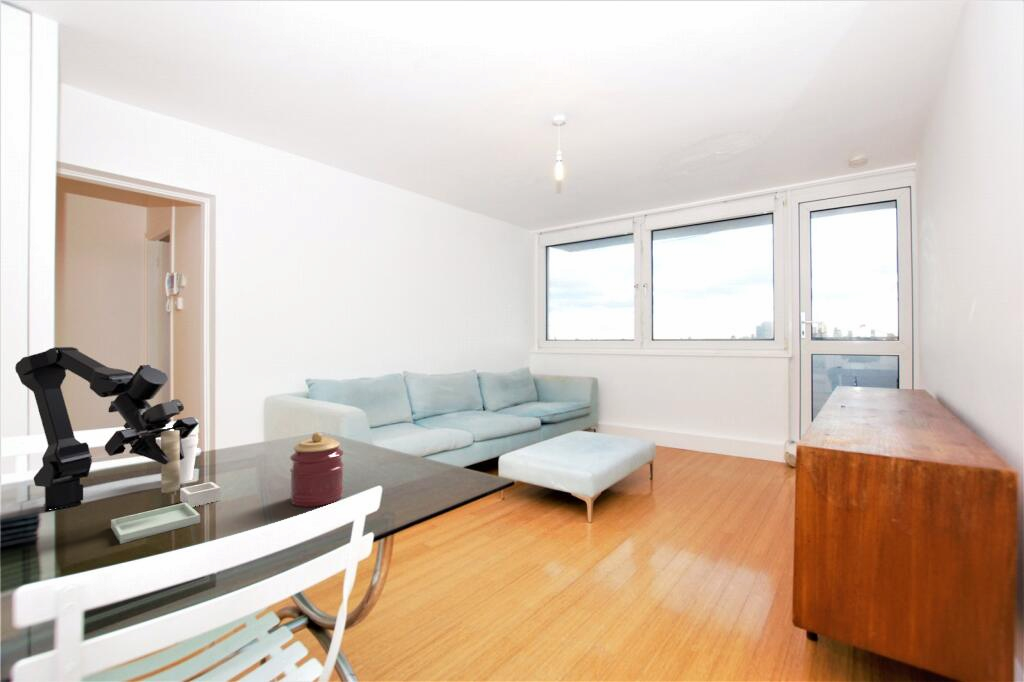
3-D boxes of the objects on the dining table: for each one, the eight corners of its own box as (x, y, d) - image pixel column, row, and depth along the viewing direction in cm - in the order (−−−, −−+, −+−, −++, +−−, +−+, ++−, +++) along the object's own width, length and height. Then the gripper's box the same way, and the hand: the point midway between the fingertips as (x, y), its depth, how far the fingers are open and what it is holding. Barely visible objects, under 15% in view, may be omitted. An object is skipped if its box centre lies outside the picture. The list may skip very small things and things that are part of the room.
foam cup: (206, 475, 138) (205, 434, 138) (181, 485, 129) (180, 440, 129) (178, 474, 139) (177, 433, 139) (151, 484, 130) (150, 440, 130)
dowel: (160, 493, 104) (159, 433, 104) (162, 489, 107) (162, 431, 107) (179, 490, 106) (178, 432, 106) (180, 486, 109) (180, 429, 109)
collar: (187, 508, 112) (187, 494, 112) (180, 501, 116) (180, 488, 116) (220, 500, 117) (220, 487, 117) (212, 494, 122) (211, 481, 122)
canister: (352, 497, 119) (352, 431, 119) (303, 512, 109) (302, 440, 109) (329, 487, 127) (329, 425, 127) (282, 499, 118) (281, 432, 118)
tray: (120, 543, 93) (120, 535, 93) (111, 527, 100) (111, 519, 100) (200, 522, 103) (200, 514, 103) (186, 509, 111) (186, 502, 111)
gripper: (114, 395, 98) (154, 447, 96) (192, 386, 116) (227, 430, 114) (87, 429, 100) (126, 481, 97) (168, 415, 118) (202, 458, 116)
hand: (174, 460), depth 106 cm, fingers closed on dowel, 3 cm apart
